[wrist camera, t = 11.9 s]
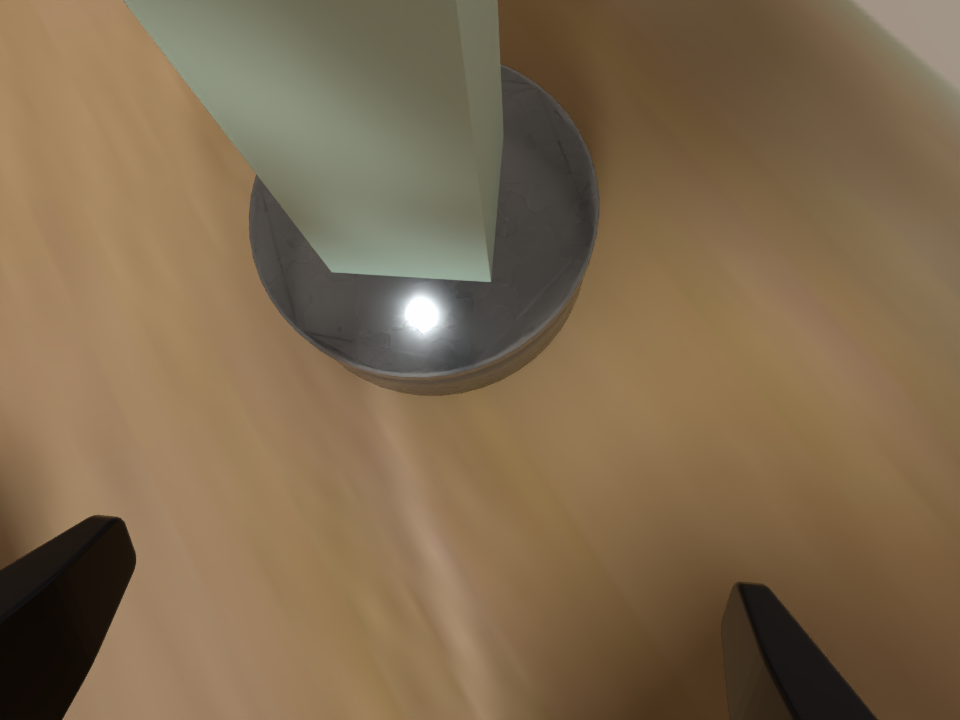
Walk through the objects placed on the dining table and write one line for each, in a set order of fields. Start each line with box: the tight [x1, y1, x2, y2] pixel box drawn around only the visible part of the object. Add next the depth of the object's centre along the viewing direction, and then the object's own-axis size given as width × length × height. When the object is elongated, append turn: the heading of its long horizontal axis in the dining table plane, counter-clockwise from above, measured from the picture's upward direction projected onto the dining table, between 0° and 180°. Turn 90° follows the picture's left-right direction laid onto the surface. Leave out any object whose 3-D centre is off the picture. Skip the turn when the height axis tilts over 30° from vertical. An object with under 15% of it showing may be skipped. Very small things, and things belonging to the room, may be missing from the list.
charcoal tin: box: [249, 63, 599, 396], centre depth 24 cm, size 11×11×4 cm
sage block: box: [123, 0, 504, 282], centre depth 16 cm, size 5×5×12 cm
